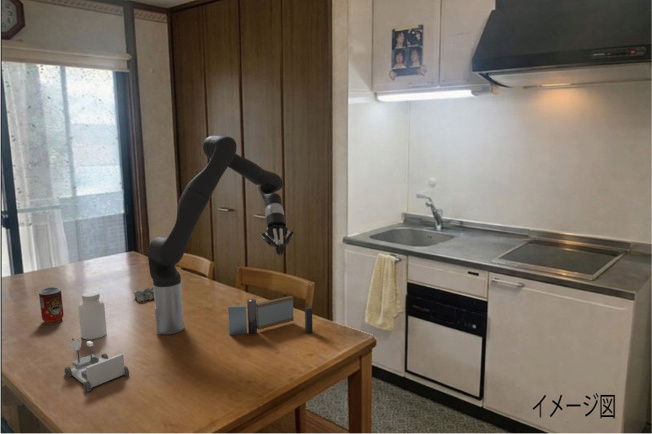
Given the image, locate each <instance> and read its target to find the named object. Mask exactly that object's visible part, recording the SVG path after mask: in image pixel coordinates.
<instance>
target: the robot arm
mask: <svg viewBox="0 0 652 434" xmlns="http://www.w3.org/2000/svg"><path fill="white" fill-rule="evenodd" d="M237 145H238V144H237V142H236V141H235V139H234V138H233V137H231V136H227V135H210V136H208V137H206V138H205V139H204V141H203V144H202V150H203V153H204V155H205V156H206V158H208V159H209V162H207V165H206V166H205V167H204V168H203V169H202V170H201V171H200V172H199V173H198V174H197V175H195V176H194V177H193V178H192V179H191V180H190V181H189V182H188V183H187V185H186V186H185V188H184V189H183V191H182V193H181V196H180V198H179V200H178V203H177V207H176V208H177V209H176V219H175V223H174V225H173V227H172V230H171V231H170V233H169V235H168V237H165V236H157V237H155V238H153V239H152V240H151V241H150V243H149V245H148V248H147V258H148V259H147V260H148V267H149V269H148V270H149V275H150V277H151V280H152V284H153V285H152V286H153V287H154V298H153V299H154V315H155V318H154V319H155V329H156V335H174V334H178V333H179V332H182V331H183V330H184V328H185V324H184V323H185V322H184V309H183V308H184V307H183V291H182V276H181V274H180V272H179V271H178V270H177V268H176V265H178V264H179V262H180V261H181V260H182V259H183V257H184V255H185V252H186V250H187V247H188V245H189V242H190V239H191V237H192V234H193V232H194V230H195V228H196V226H197V224H198V222H199V220H200V218H201V216H202V215H203V212H204V211H205V209H206V208H207V205H208V204H209V201H210V199H211V197H212V195H213V193H214V192H215V189H216V188H217V186H218V184H219V182H220V180H221V178H222V176H223V175H224V173H225V172H226V170H227V169H228V168H230V169H231V170H232V171H234V172H236V173H237V174H239V175H241V176H242V177H243V178H245V179H246V180H248V181H250V183H252V184H254V185H256V186H257V188H258V192H259V193H260V195H261V197H262V200H263V202H264V208H265V209H264V211H265V212H264V215H265V222H266V224H265V225H266V231H265V232H262V234H261V239H262V240H263V241H264V242H265V243H267V245H269V246H270V247H274V248H275V254H276V255H277V256H280V257H281V256H283V254H284V253H285V247H286V246H288V245H289V243H290V241H291V240H292V238H293V237H294V231H290V230H289V229H288V228H287V224H286V218H285V211H284V208H283V202H282V197H281V195H280V194H279V193H277V192H278V191H280V190H282V188H283V187H284V181H283V178H282V177H281V176H280V175H279V174H277V173H275V172H274V171H273V172H272V171H269V170H267V169H263V168H262V167H261V166H259V165H258V164H256V163H255V162H253V161H251V160H250V159H248V158H245V157H243V156H241V155H239V154H238V153H237V147H238V146H237ZM285 237H286V238H285ZM284 238H285V240H284ZM284 246H285V247H284ZM153 287H152V288H153Z"/></svg>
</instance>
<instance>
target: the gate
mask: <svg viewBox="0 0 652 434" xmlns="http://www.w3.org/2000/svg"><path fill="white" fill-rule="evenodd" d="M256 312H257V331H258V330H264V329H268V328H272V327H274V326H279V325H282V324H287V323H290V322H293V321H294V296H292V295H287V296H283V297H279V298H275V299H271V300H266V301H261V302H256Z"/></svg>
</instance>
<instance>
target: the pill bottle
mask: <svg viewBox="0 0 652 434" xmlns="http://www.w3.org/2000/svg"><path fill="white" fill-rule="evenodd" d="M78 316H79V326H80V327H79V328H80V335H81V338H82V340H83V339H84V340H97V339H101V338H103V337H104V336H105V335H107V321H106V320H107V318H106V308H105V303H104V301H103V299H100V291H99V292H98V291H88V292H84V293H82V295H81V302H80V303H79V305H78Z"/></svg>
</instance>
